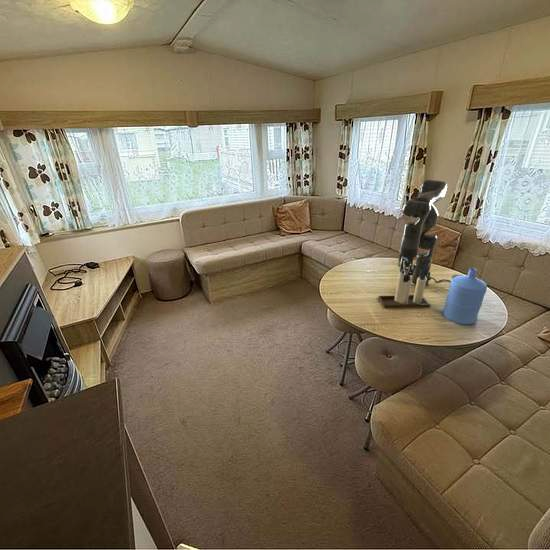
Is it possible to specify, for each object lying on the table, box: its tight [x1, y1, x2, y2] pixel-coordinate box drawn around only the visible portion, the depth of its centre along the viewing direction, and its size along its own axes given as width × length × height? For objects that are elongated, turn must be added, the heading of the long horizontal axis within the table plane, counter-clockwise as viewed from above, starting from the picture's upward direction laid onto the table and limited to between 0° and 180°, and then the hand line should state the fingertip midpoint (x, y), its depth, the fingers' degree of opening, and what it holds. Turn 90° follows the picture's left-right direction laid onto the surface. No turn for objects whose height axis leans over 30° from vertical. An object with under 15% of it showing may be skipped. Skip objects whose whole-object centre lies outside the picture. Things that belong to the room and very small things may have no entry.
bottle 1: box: [401, 276, 412, 304], centre depth 169 cm, size 5×5×16 cm
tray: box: [377, 294, 431, 309], centre depth 172 cm, size 26×11×2 cm, turn 90°
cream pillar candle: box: [394, 269, 408, 303], centre depth 143 cm, size 5×5×16 cm
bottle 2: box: [413, 275, 427, 304], centre depth 169 cm, size 5×5×16 cm
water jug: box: [442, 267, 488, 325], centre depth 153 cm, size 16×16×28 cm
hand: (403, 279), depth 142 cm, fingers closed on cream pillar candle, 4 cm apart
